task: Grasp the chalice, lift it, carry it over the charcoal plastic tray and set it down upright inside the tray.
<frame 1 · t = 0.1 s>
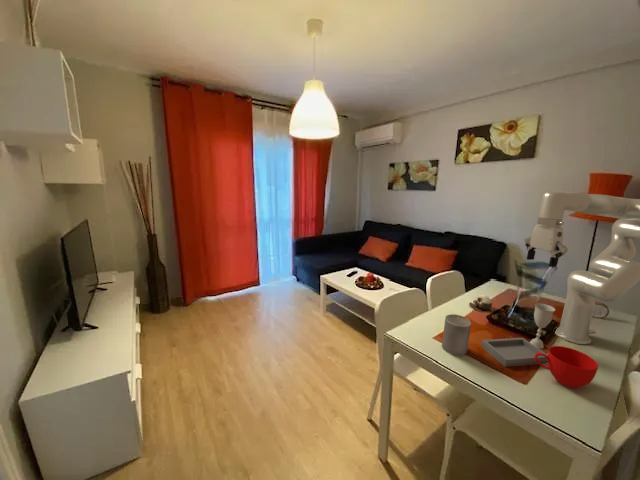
hand: (540, 262, 114), 36 cm above the table, tool pointing down, fingers open, 9 cm apart
chalice: (536, 345, 119), on the table
tin: (587, 315, 145), on the table
ceramic cup: (559, 380, 98), on the table
skull: (481, 308, 153), on the table
pillar candle: (454, 349, 116), on the table
tray: (513, 354, 112), on the table
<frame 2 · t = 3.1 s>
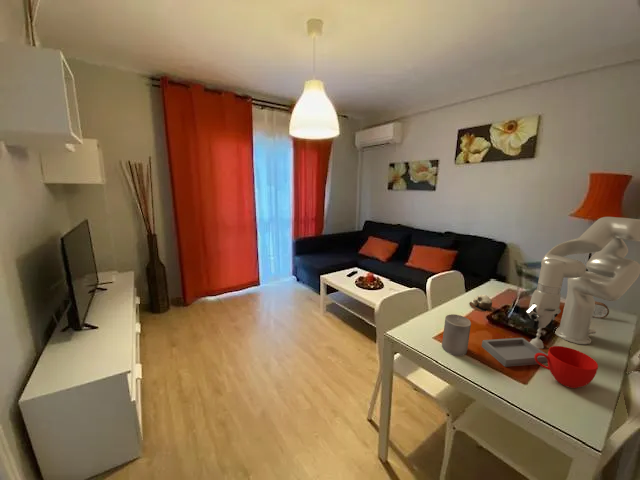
hand: (540, 327, 117), 9 cm above the table, tool pointing down, fingers closed on chalice, 5 cm apart
chalice: (536, 345, 119), on the table, touching gripper
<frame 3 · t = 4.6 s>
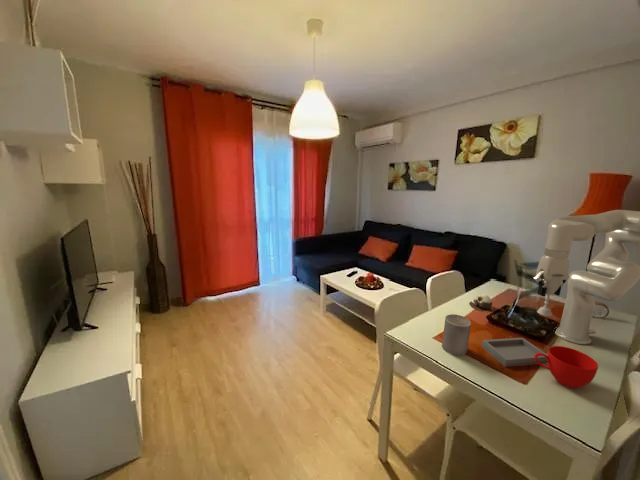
hand: (548, 294, 114), 24 cm above the table, tool pointing down, fingers closed on chalice, 5 cm apart
chalice: (544, 313, 116), point 15 cm above the table, touching gripper
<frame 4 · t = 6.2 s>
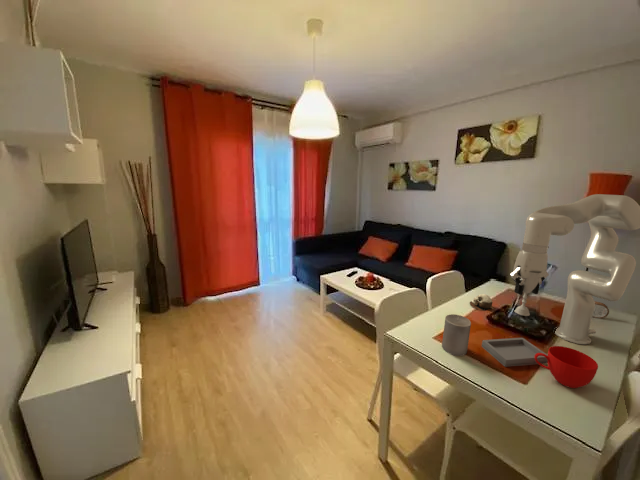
hand: (525, 292, 106), 27 cm above the table, tool pointing down, fingers closed on chalice, 5 cm apart
chalice: (521, 313, 108), point 19 cm above the table, touching gripper
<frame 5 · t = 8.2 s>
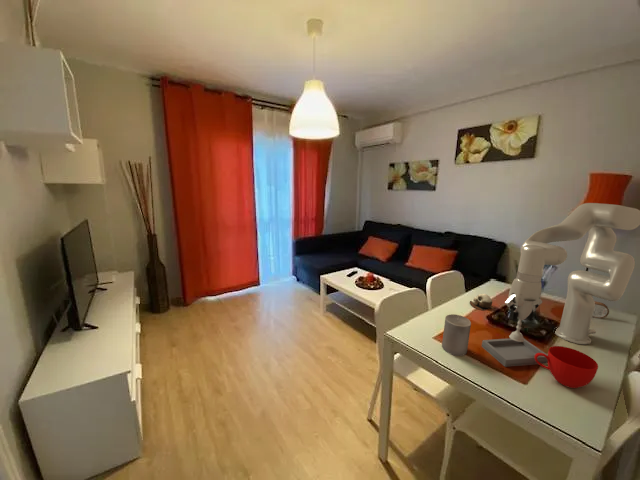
hand: (520, 319, 109), 16 cm above the table, tool pointing down, fingers closed on chalice, 5 cm apart
chalice: (516, 338, 111), point 7 cm above the table, touching gripper
when the fingers open (11 cm above the table, at t = 9.7 s): chalice drops 1 cm, resting on tray.
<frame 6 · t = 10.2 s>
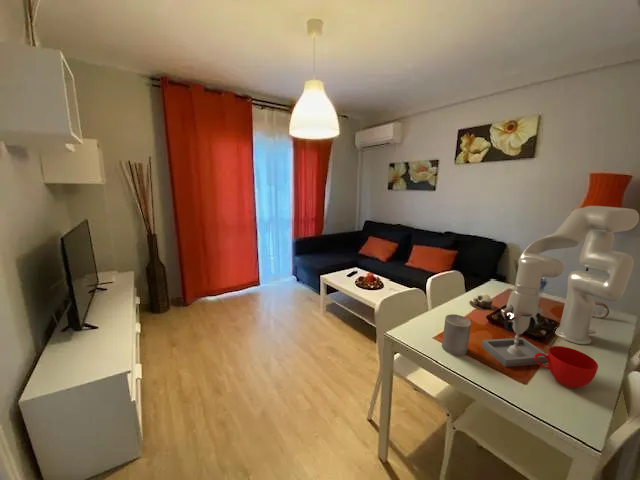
hand: (518, 328, 110), 12 cm above the table, tool pointing down, fingers open, 9 cm apart
chalice: (514, 352, 112), point 1 cm above the table, touching tray
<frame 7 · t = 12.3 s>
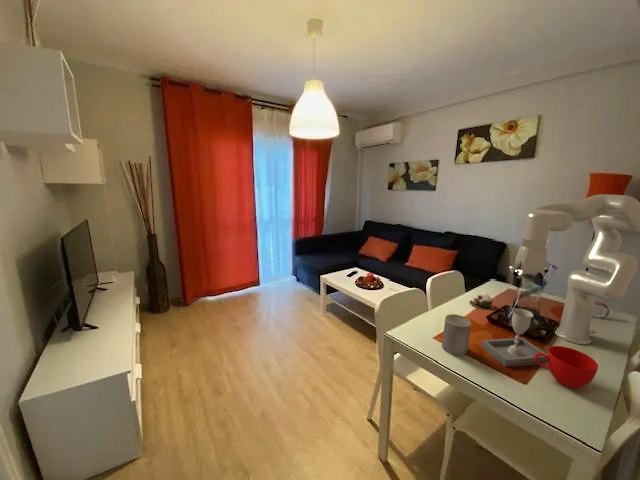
hand: (527, 285, 109), 29 cm above the table, tool pointing down, fingers open, 9 cm apart
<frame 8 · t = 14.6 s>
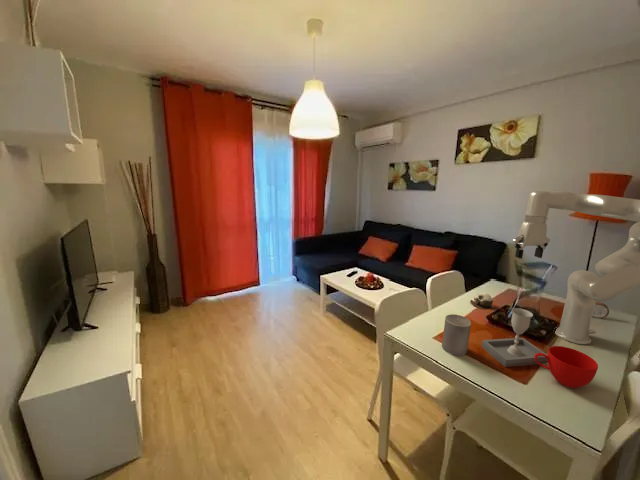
hand: (528, 257, 122), 36 cm above the table, tool pointing down, fingers open, 9 cm apart
at the end: chalice inside the target area on the tray (0.3 cm from its centre), point 0.8 cm above the tray's base; chalice tilted 0°; the gripper is holding nothing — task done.
